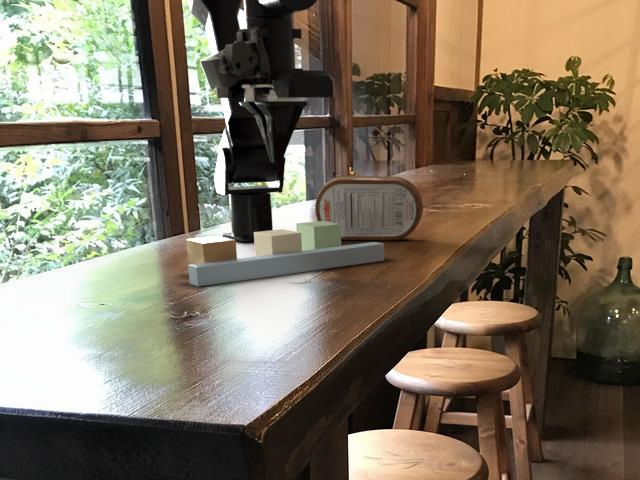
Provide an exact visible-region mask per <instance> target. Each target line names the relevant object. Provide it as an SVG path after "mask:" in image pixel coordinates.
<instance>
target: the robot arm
mask: <svg viewBox="0 0 640 480" xmlns="http://www.w3.org/2000/svg"><path fill="white" fill-rule="evenodd" d="M186 1H187V5H188V8H189V12H190V14H191V15H192V16H193V17H194V18H195V19H196V20H197V21H198V22H199V23H200V24H201V25H202V27H204V29H205V32H206V37H207V42H208V46H209V50H210V55H209V56H206V57H204V58H202V59H200V60H199V63H200V66H201V69H202V70H203V74H204V76H205V79H206V81H207V82H206V83H207V84H208V87H209V89H210V90H215V88H216V99H220V101H221V107H222V112H223V115H224V119H225V128H224V130H223V133H222V135H221V136H222V137H221V140H220V143H219V145H218V147H219V148H218V152H217V159H216V165H215V171H214V177H213V179H214V186H215V192H216V193H217V194H218V195H222V196H229V197H228V198H229V213H230V214H229V215H230V226H231V232H227V233H226V232H225V233H222V237H225V238H229V239H234V240H236V241H238V242H242V243H243V242H244V243H245V242H254V232H261V231H270V230H274V228H273V227H274V226H273V225H274V224H273V208H272V198H271V197H272V196H271V193H278V194H279V193H280V194H282V193H283V192H284V183H285V182H284V181H285V166H286V160H287V159H286V157H285V155H286V152H287V149H288V147H289V144H290V142H291V139H292V137H293V134H294V131H295V129H296V127H297V125H298V123H299V121H300V118H301V117H302V115H303V112H304V109H305V107H308V106H309V101H308V100H307V101H304V100H303V99H304V98H305V99H307V98H308V99H309V98H312V99H313V98H318V99H319V98H321V99H322V98H323V99H325V98H327V99H328V98H329V99H330V98H331V99H332V98H335V97H336V96H335V95H336V93H335V91H336V90H335V78H334V77H333V76H332V74H331V73H330V72H329V70H315V69H314V70H311V69H310V70H307V69H305V70H304V69H303V68H302V67H301V68H300V67H298V68H297V67H296V42H295V40H302V38H303V37H302V35H303V34H302V29H301V28H295V18H294V17H295V15H294V14H295V13H299V12H302V11H307V10H309V9H310V8H312V7H313V6H314V5H315V4H316V3H317V1H318V0H186ZM242 3H243V10H244V12H243V13H244V28H241V26H240V22H239V17H238V16H239V13H240V8H241V5H242ZM253 183H256V184H257V183H267V185H250V186H249V185H246V186H245V185H243V186H230V184H231V185H232V184H233V185H234V184H253Z"/></svg>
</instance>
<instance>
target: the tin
mask: <svg viewBox="0 0 640 480" xmlns="http://www.w3.org/2000/svg"><path fill="white" fill-rule="evenodd" d="M423 212H424V204H423V198H422V196H421V193H420V191H419V190H418V188H417V186H415V185H414V184H413V183H412V182H411V181H410V180H408V179H406V178H404V177H402V176H401V177H400V176H387V175H386V176H385V175H384V176H381V175H380V176H375V175H374V176H373V175H369V176H368V175H361V176H360V175H338V176H336V177H333V178H331V179H329V180H328V181H327V182H326V183H324V185H323V186H322V187H321V189H320V190H319V192H318V195H317V197H316V200H315V205H314V213H315V217H316V220H317V221H326V222H332V223H338V224H341V241H342V240H343V241H400V240H403V239H405V238H407V237H409V236H411V234H412V233H413V232H414V231H415V230H416V229H417V227H418V226H419V224H420V222H421V219H422V216H423Z"/></svg>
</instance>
